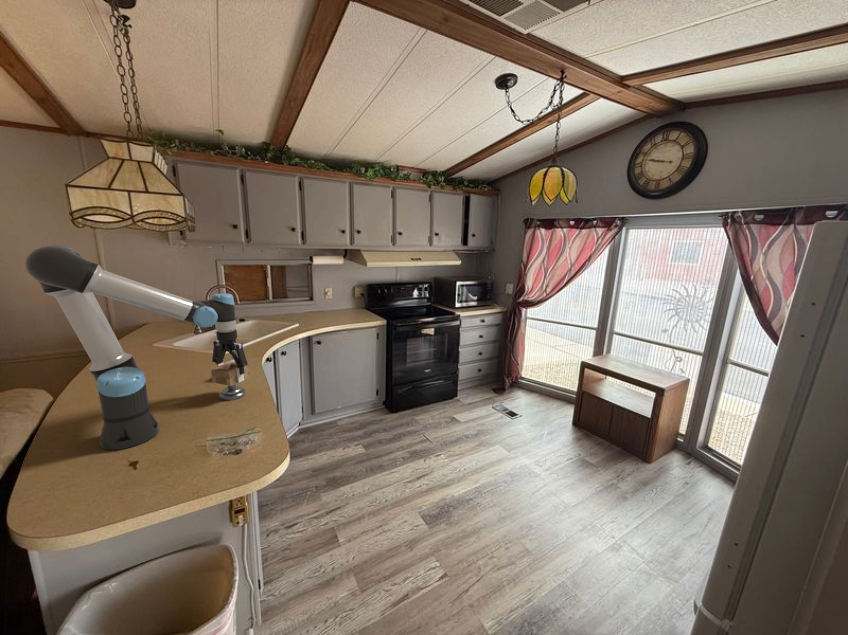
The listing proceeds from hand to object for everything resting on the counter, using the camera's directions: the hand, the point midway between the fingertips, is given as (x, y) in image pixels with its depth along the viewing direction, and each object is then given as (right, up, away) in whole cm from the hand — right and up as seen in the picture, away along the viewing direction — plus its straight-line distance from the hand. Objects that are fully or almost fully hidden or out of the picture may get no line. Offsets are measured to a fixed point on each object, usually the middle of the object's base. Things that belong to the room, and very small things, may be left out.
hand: (231, 379), depth 145 cm
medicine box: (-11, -3, +22) cm, 25 cm away
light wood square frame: (0, 0, 0) cm, 0 cm away
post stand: (0, -7, +1) cm, 8 cm away
